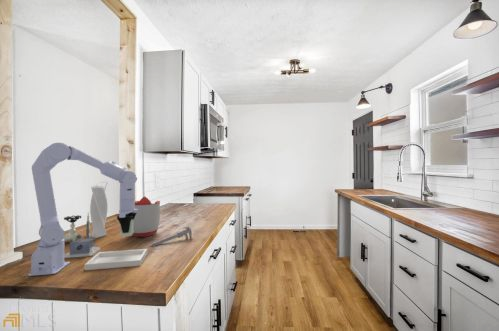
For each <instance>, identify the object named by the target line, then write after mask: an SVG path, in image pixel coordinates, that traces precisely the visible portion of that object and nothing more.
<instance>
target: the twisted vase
mask: <svg viewBox="0 0 499 331" xmlns="http://www.w3.org/2000/svg"><path fill="white" fill-rule="evenodd" d="M102 184H105V186H103V185H102ZM107 185H108V181H101V182H98V183H96V184H95V185H93V186H91V192H92V195H91V199H90V205H89V207H90V209H89V210H90V212H87V216H86V217H87V219H86V230H85V232H86V235H85V238H86V239H88V238H95V239H99V238H102V237H107V236H108V234H107V231H106V228H105V225H106V221H107V215H108V199H107V195H106V189H107ZM89 213H90V214H89ZM89 215H90V216H89ZM90 220H91V221H90ZM91 225H92V231H91Z"/></svg>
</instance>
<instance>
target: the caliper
mask: <svg viewBox="0 0 499 331" xmlns="http://www.w3.org/2000/svg"><path fill="white" fill-rule="evenodd" d="M192 234H193V232H192V228H191V227H190V226H189V225H188V226H185V229H182V230H180V231H177V232H176V233H175V234H172V235H170V236H167V237H164V238H162V239H159V240H156V241H154V242H151V243H150V244H149V245H148V247H149V248H150V247H155V246H158V245H161V244H163V243H166V242H169V241H171V240H173V239H176V238H178V239H181V238H183V237H185V238H186V239H187V240H188V239H189V238H190V239H192V237H193V236H192Z"/></svg>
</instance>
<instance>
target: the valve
mask: <svg viewBox="0 0 499 331" xmlns="http://www.w3.org/2000/svg"><path fill="white" fill-rule="evenodd" d="M79 219H82V215H71V216H65V217H63V220H65V221H67V222H69V223H71V224H70V225H69V226H70V229H69V230H68V233H65V234H64V238H63V239H64V242H69V243H70V242H72V241H74V240H76V239H83V238H82V234H81V233H77V231H78V229H76V222H77V221H78V220H79Z"/></svg>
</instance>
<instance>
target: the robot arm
mask: <svg viewBox="0 0 499 331" xmlns="http://www.w3.org/2000/svg"><path fill="white" fill-rule="evenodd" d="M65 160H67V161H79V162H81V163H83V164H85V165H87V166H88V165H89V166H91V167H93V168H96V169H98V170H99V171H100V174H101V175H103V176H105V177H108V178H110V179H112V180H115V181H117V182H118V183H119V210H118V213H119V215H118V216H116V219H117V221H118V222H119V224H120V229H121V228H122V232H123V233H128V232H129V228H130V222H131V219H134V218H135V216H136V214H137V212H134V211H138V209H135V201H136V200H135V199H136V197H135V196H136V195H135V194H136V193H135V192H136V190H135V189H136V186H135V184H136V183H137V180H138V177H137V175H136V173H135V172H134V171H132V170H131V171H130V170H128V169H127V167H122V166H120V165H118V164H117V163H116V162H115V161H109V160H108V161H105V162H104V161H102V160H100V159H98V158H96V157H94V156H92V155H90V154H88V153H87V152H84V151H82V150H81V149H79V148H77V147H73V146H70V145H67V144H66V143H63V142H54V143H52V144H50V145H49V146H47V147H45V148H43V149H42V150H41V152H40V153H39V155H38V156H37V158H36V159H35V161H34V162H33V163H32V165H31V172H32V178H33V184H34V191H35V196H36V202H37V207H38V211H39V212H38V213H39V219H40V228H39V229H38V236H40V240H39V242H37V249H36V250H35V251H34V252H33V253H32V254H31V258H30V272H29V273H28V274H27V276H28V277H33V276H45V275H47V276H48V275H55V274H57V273H58V272H59V271H61V270H63V269H64V268H65V267H67V266H68V265H69V264H70V263H71V262H70V261H65V258H64V255H65V240H64V236H65V235H66V233H65V230H64V229H63V228H62V227H61V224H60V221H59V217H58V211H57V207H56V205H57V204H56V201H55V200H56V199H55V195H54V188H53V183H52V182H53V181H52V175H51V170H52V169H53V168H55V167H56V166H57V165H58V164H59V163H62V162H64V161H65Z"/></svg>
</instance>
